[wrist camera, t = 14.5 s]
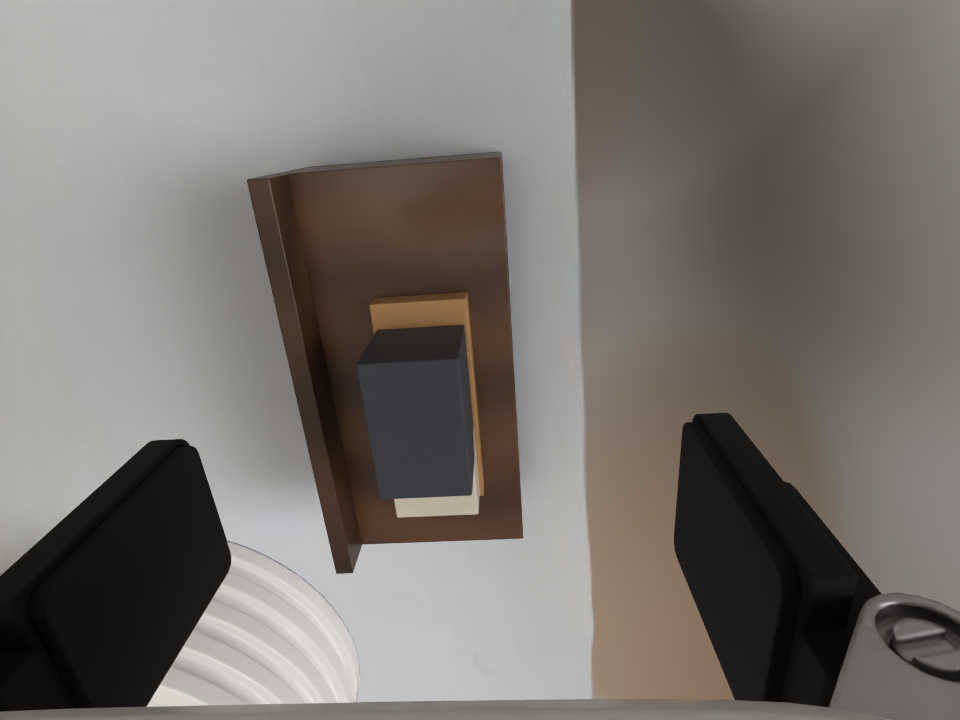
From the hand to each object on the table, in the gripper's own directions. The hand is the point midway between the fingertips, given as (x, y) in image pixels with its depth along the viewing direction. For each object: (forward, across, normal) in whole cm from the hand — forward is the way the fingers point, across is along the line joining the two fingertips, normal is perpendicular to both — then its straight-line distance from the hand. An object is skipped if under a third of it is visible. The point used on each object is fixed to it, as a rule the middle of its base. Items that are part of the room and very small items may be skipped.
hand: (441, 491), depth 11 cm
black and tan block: (+18, +3, +7) cm, 20 cm away
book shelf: (+24, +4, +6) cm, 25 cm away
